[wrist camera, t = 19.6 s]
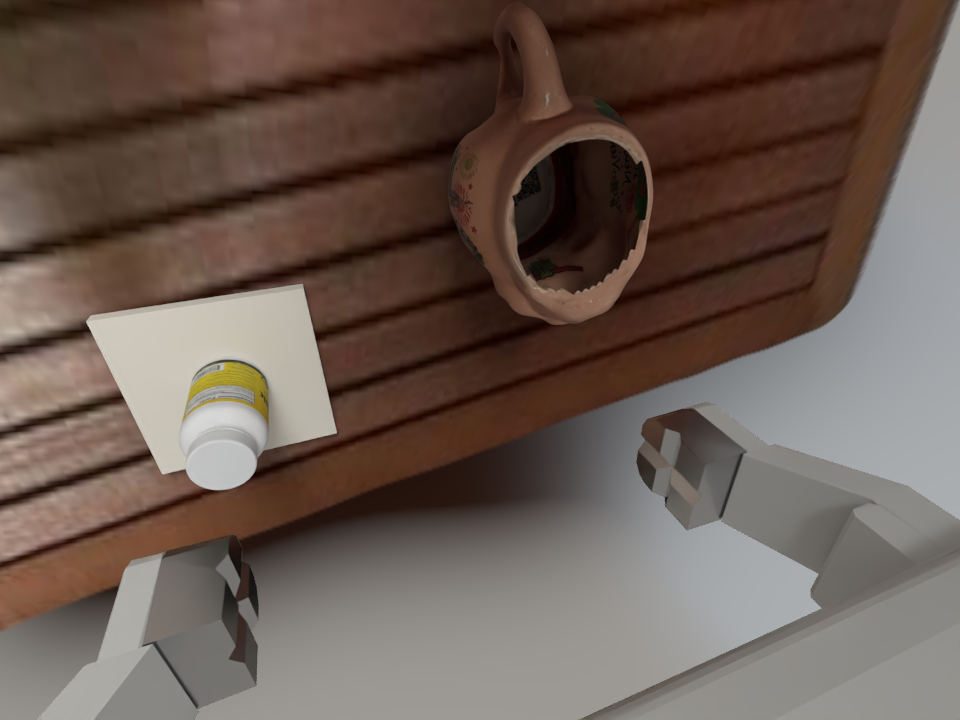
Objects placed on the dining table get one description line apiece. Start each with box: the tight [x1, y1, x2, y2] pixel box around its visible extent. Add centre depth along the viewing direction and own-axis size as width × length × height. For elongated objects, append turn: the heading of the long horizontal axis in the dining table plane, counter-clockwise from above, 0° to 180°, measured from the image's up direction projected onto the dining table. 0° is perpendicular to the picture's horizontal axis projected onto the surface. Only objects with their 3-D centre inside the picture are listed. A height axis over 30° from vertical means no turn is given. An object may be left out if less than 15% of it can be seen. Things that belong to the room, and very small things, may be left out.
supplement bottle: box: [179, 357, 269, 490], centre depth 34 cm, size 5×5×10 cm
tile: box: [86, 284, 337, 474], centre depth 39 cm, size 14×14×1 cm
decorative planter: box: [448, 2, 653, 325], centre depth 33 cm, size 20×12×14 cm, turn 22°
